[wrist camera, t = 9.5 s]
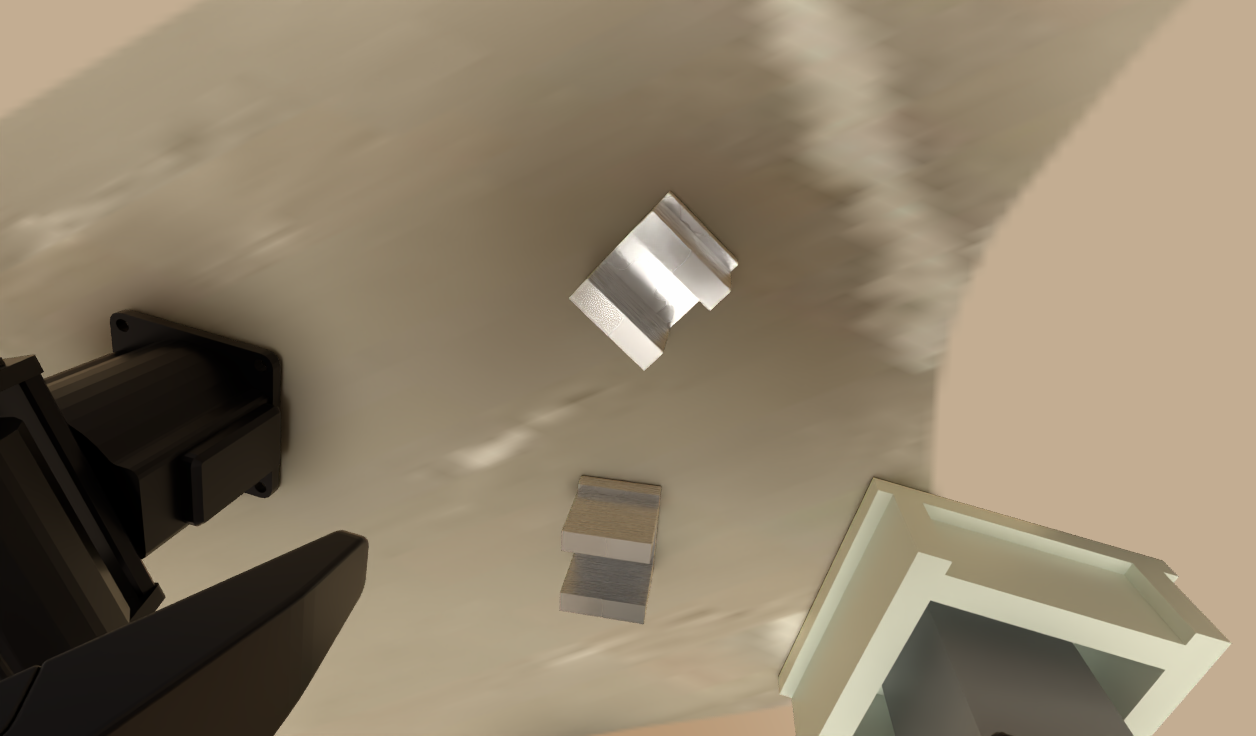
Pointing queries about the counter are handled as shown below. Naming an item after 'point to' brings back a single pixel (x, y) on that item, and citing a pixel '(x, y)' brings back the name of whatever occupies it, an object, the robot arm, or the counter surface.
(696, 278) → the clip
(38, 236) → the counter surface
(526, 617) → the counter surface
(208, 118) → the counter surface
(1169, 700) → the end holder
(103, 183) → the counter surface
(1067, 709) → the grey square bottle
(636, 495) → the clip
